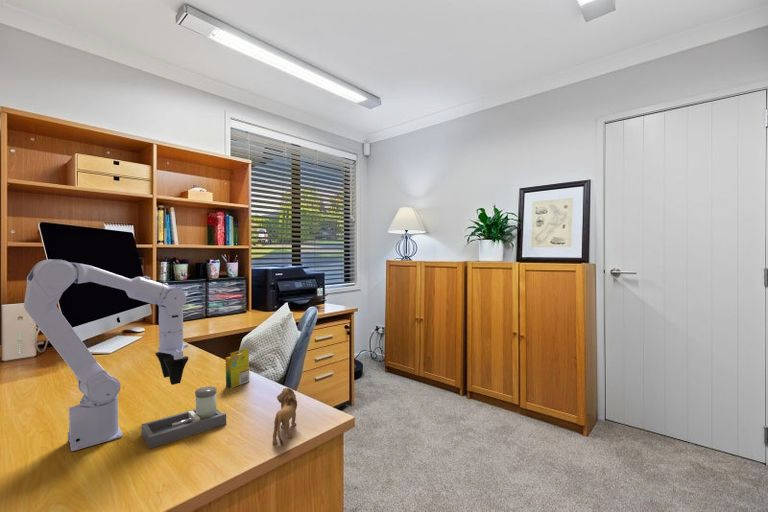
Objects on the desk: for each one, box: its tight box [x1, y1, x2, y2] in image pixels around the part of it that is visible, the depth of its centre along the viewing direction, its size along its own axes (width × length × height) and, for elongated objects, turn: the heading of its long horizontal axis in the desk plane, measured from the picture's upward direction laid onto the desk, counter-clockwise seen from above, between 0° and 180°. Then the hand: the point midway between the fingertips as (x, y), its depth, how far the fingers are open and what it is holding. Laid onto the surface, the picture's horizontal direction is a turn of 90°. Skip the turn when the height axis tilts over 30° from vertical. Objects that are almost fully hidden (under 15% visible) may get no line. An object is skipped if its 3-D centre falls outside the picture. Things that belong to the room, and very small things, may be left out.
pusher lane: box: [141, 408, 227, 450], centre depth 92 cm, size 17×9×3 cm, turn 134°
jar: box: [194, 386, 217, 420], centre depth 95 cm, size 5×5×8 cm
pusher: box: [172, 409, 200, 428], centre depth 92 cm, size 6×6×2 cm
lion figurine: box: [272, 387, 298, 446], centre depth 90 cm, size 15×5×9 cm, turn 11°
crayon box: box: [224, 347, 250, 389], centre depth 123 cm, size 7×3×12 cm, turn 149°
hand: (171, 380), depth 100 cm, fingers open, 7 cm apart
